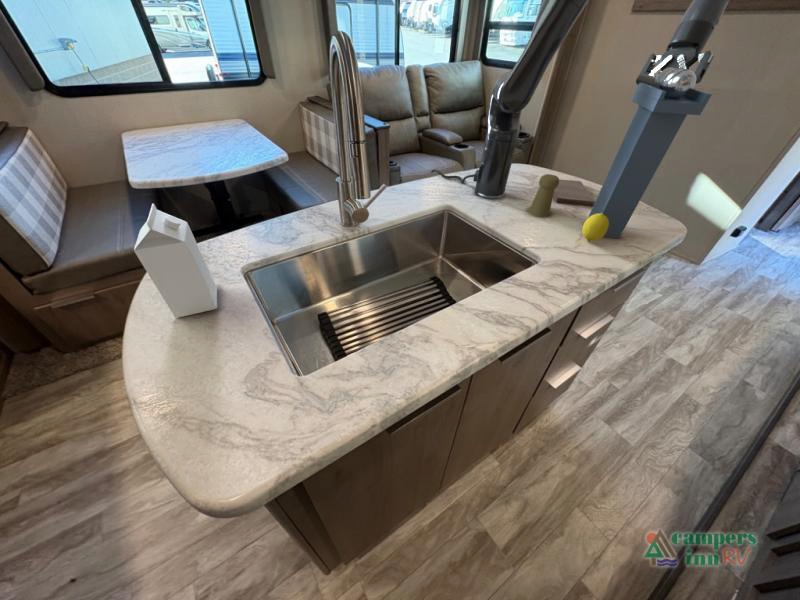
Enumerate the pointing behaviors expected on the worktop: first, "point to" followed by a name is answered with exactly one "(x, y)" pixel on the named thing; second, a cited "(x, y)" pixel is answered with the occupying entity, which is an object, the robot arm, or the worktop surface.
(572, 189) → the cutting board
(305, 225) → the worktop surface
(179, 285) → the milk carton
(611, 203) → the shelf stand
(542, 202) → the olive green pawn
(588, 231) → the lemon
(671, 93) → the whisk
